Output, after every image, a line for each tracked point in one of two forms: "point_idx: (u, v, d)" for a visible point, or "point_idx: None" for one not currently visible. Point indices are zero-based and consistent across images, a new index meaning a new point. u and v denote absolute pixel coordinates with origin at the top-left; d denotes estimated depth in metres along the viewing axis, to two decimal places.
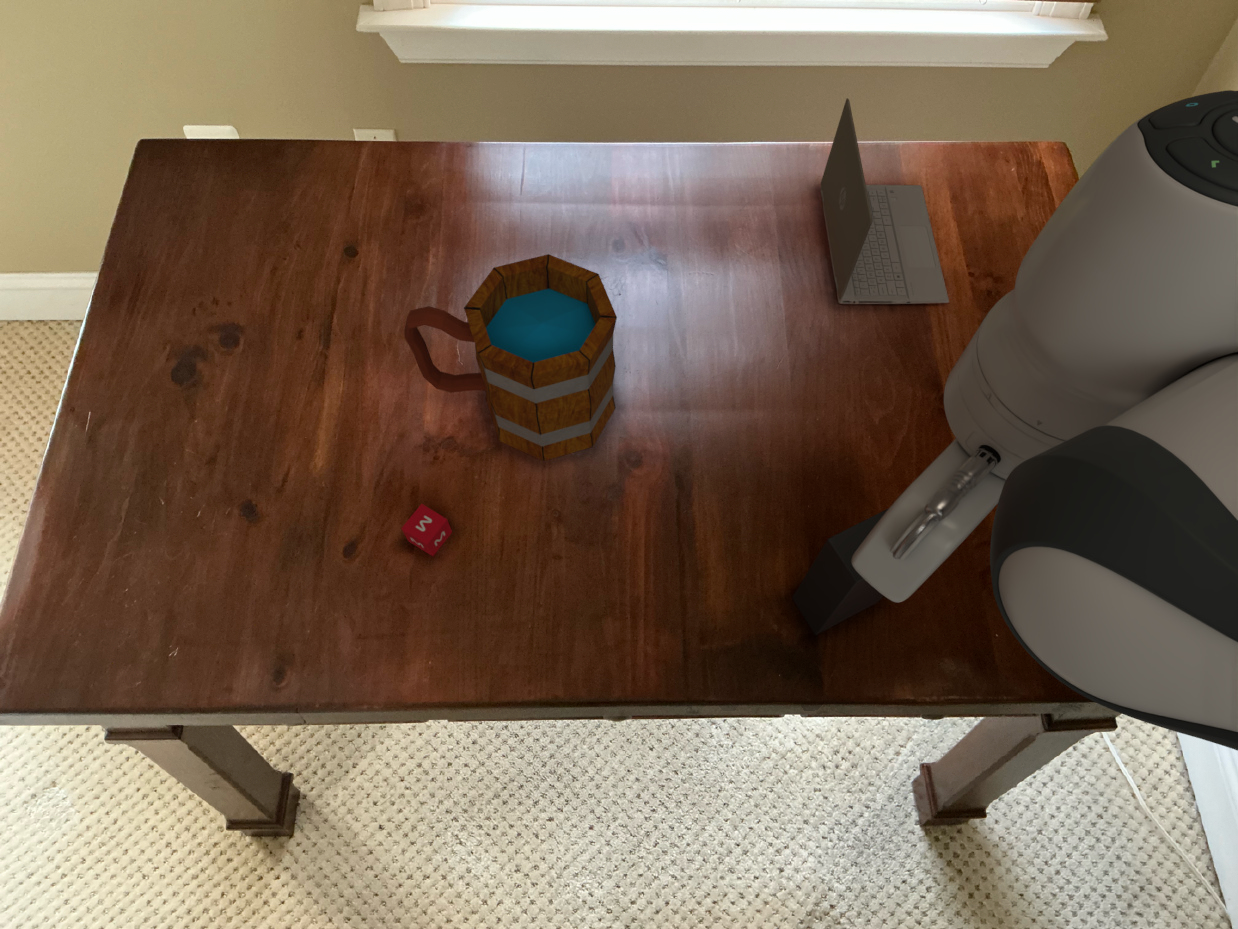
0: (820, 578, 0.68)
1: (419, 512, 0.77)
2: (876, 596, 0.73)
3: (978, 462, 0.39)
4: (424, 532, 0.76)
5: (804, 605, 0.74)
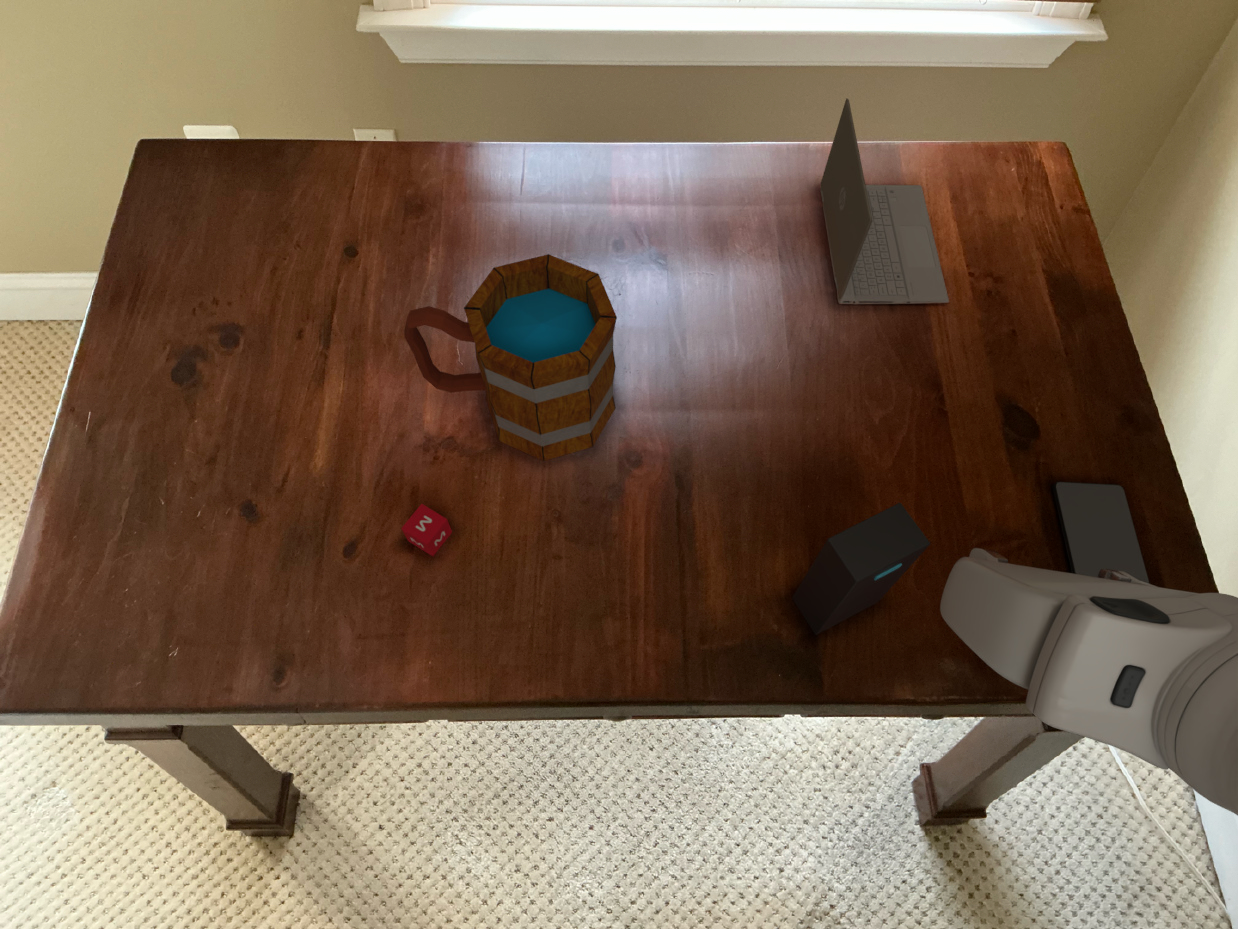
0: (820, 578, 0.68)
1: (419, 512, 0.77)
2: (876, 596, 0.73)
3: None
4: (424, 532, 0.76)
5: (804, 605, 0.74)
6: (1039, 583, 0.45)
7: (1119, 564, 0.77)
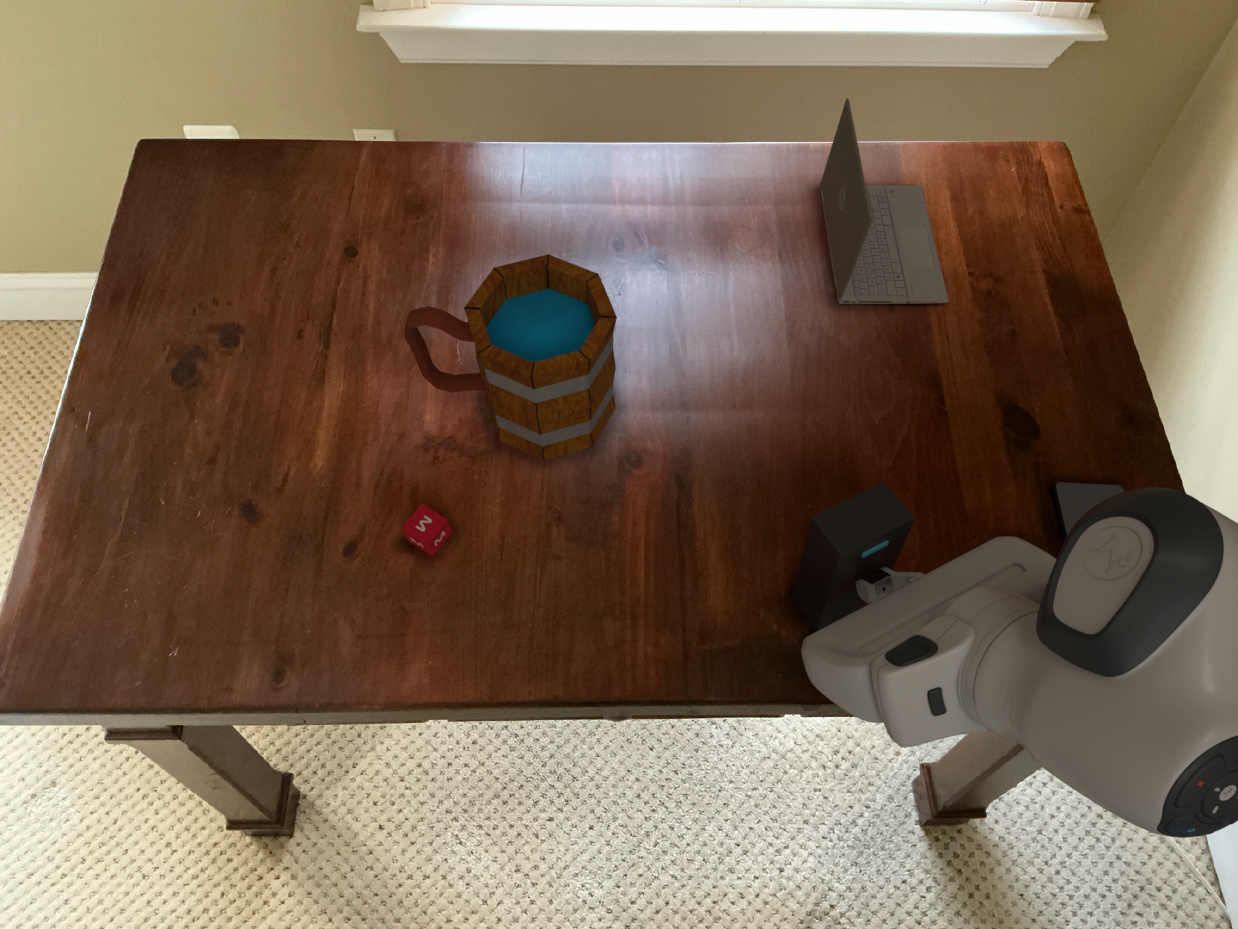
0: (811, 564, 0.69)
1: (419, 512, 0.77)
2: None
3: None
4: (424, 532, 0.76)
5: (803, 602, 0.74)
6: (859, 635, 0.60)
7: None
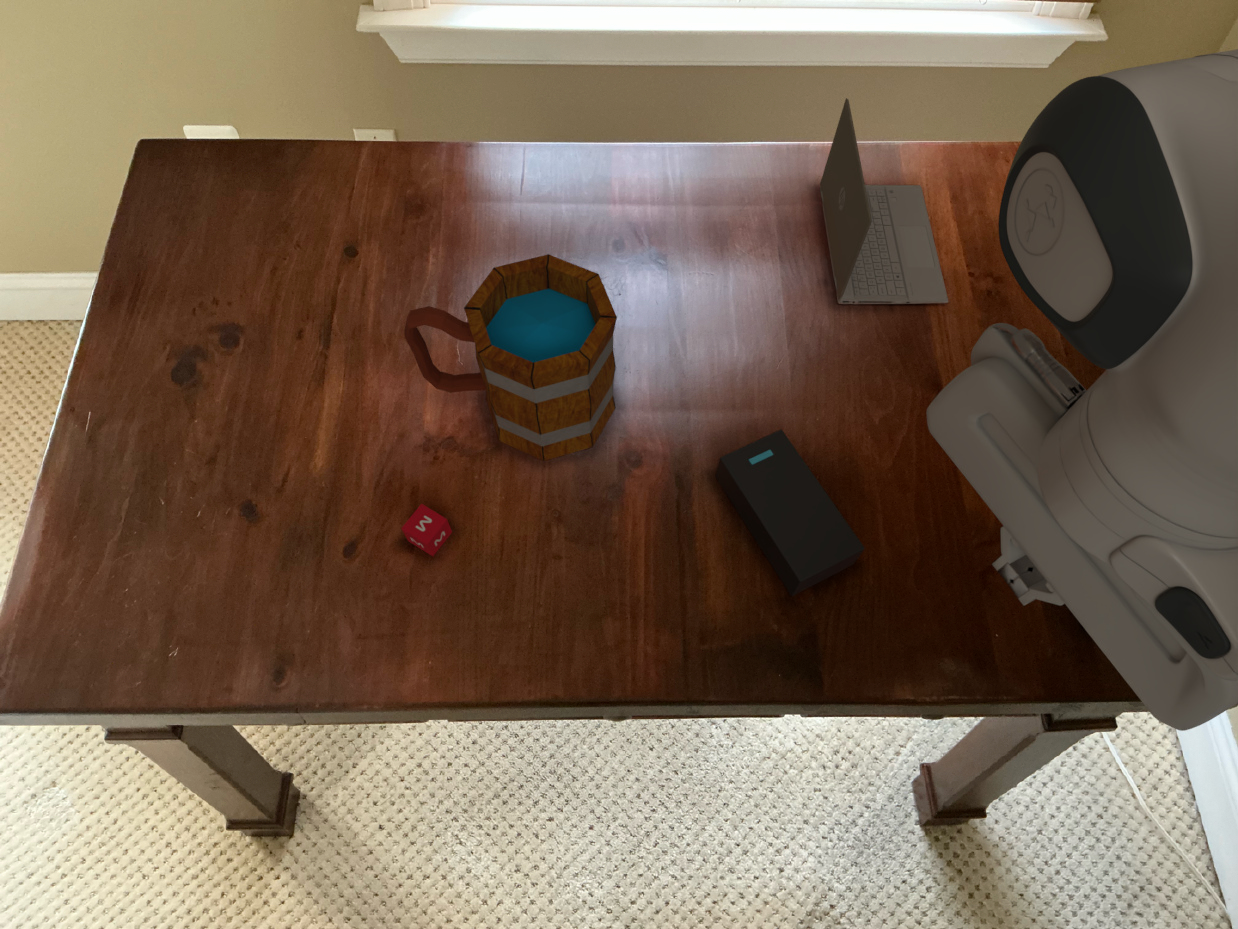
0: (746, 517, 0.79)
1: (419, 512, 0.77)
2: (830, 523, 0.75)
3: (1072, 379, 0.39)
4: (424, 532, 0.76)
5: (783, 574, 0.76)
6: (1144, 651, 0.39)
7: None
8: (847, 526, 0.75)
